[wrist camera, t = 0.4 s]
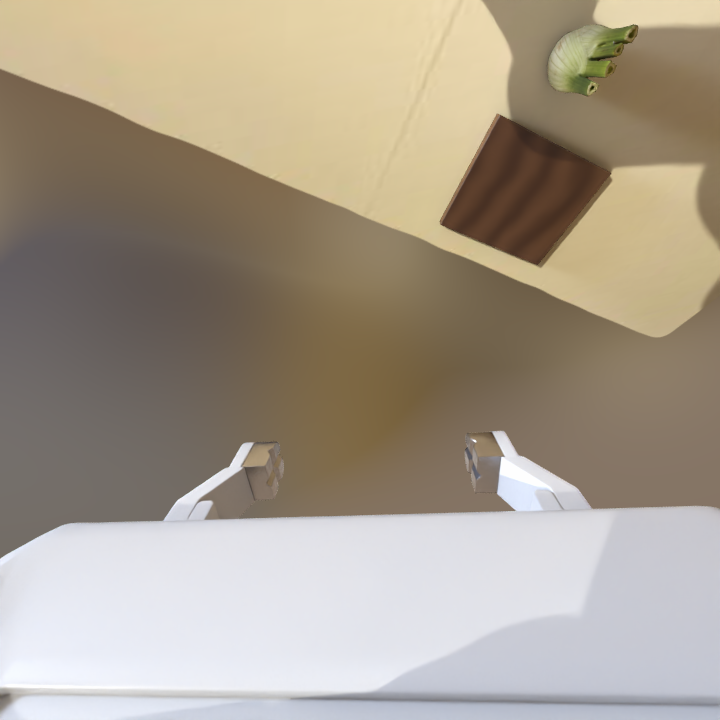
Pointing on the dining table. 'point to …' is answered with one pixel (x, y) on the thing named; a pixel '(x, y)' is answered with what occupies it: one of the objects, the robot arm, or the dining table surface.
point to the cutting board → (521, 191)
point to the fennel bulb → (586, 57)
